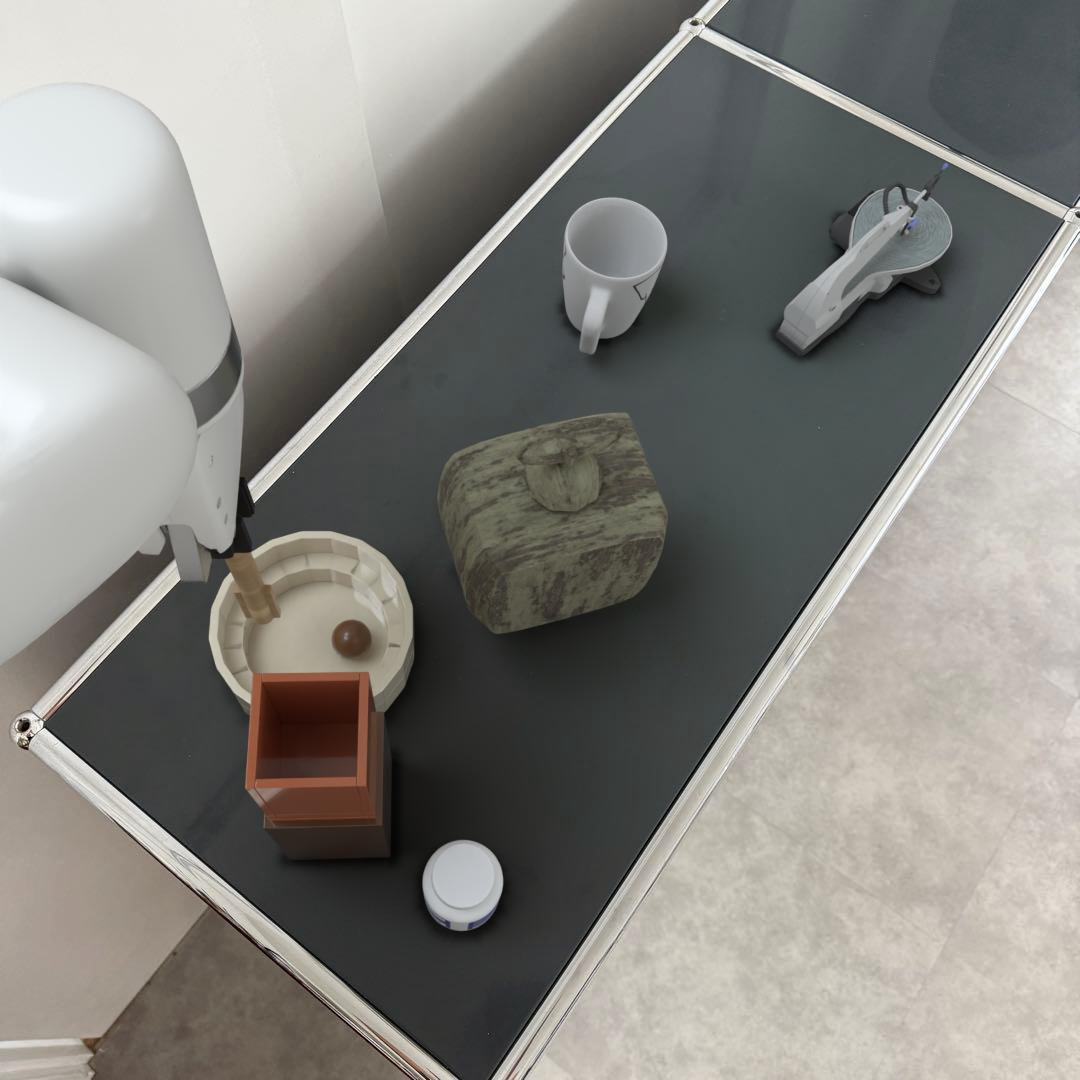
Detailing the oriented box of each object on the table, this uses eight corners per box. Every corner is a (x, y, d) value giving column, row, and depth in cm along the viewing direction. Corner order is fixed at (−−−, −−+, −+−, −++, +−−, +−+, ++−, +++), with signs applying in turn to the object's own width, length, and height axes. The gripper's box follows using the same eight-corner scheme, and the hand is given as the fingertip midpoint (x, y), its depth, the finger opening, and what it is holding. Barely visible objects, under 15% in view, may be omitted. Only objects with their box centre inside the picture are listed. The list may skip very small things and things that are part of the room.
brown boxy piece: (289, 860, 77) (236, 796, 57) (294, 760, 80) (245, 666, 59) (390, 857, 78) (373, 793, 57) (391, 758, 81) (376, 664, 60)
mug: (627, 389, 95) (647, 321, 86) (533, 363, 96) (543, 293, 87) (655, 286, 100) (677, 212, 91) (566, 262, 100) (579, 185, 91)
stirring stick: (280, 624, 77) (229, 500, 59) (245, 625, 77) (183, 500, 59) (281, 603, 78) (232, 473, 59) (246, 603, 77) (186, 473, 59)
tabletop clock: (608, 514, 90) (665, 340, 68) (644, 614, 87) (718, 466, 64) (436, 557, 87) (436, 390, 65) (468, 662, 84) (479, 525, 61)
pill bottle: (499, 853, 79) (506, 832, 70) (498, 931, 76) (505, 919, 68) (424, 852, 78) (423, 831, 70) (421, 931, 76) (419, 918, 68)
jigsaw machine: (879, 317, 88) (769, 231, 90) (835, 388, 97) (737, 308, 100) (1016, 188, 95) (911, 111, 97) (963, 266, 104) (868, 194, 107)
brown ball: (332, 665, 83) (328, 652, 80) (333, 627, 84) (330, 613, 81) (372, 664, 83) (370, 652, 80) (373, 627, 84) (371, 613, 81)
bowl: (217, 743, 80) (201, 721, 75) (231, 563, 86) (217, 531, 80) (413, 739, 81) (412, 718, 76) (414, 562, 87) (413, 530, 82)
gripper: (82, 207, 50) (172, 412, 67) (32, 521, 44) (146, 660, 61) (250, 210, 51) (298, 413, 68) (225, 520, 44) (284, 658, 61)
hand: (225, 529), depth 64 cm, fingers closed on stirring stick, 1 cm apart
